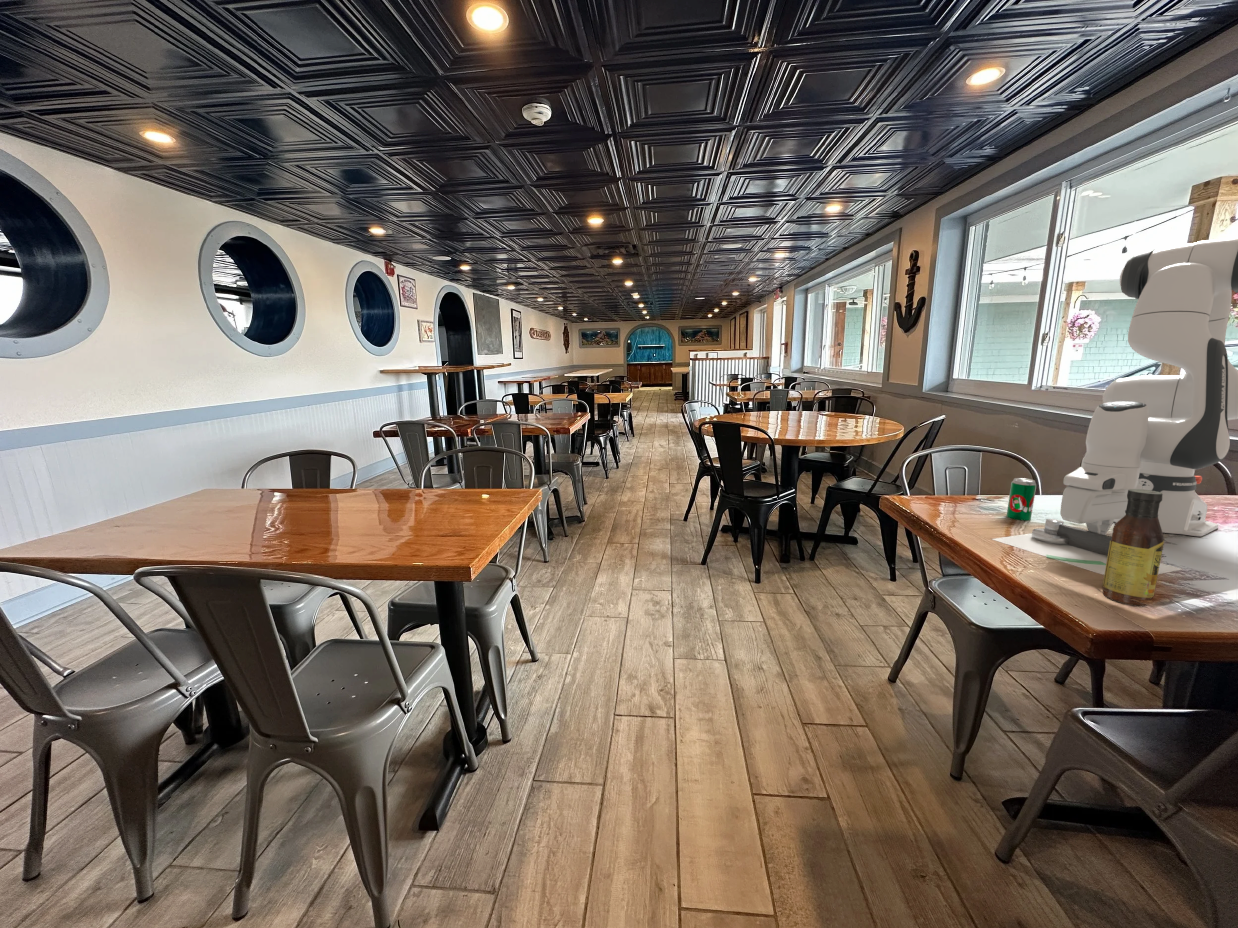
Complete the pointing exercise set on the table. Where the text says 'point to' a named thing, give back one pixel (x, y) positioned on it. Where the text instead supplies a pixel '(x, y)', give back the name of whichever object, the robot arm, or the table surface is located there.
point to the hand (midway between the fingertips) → (1096, 538)
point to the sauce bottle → (1135, 550)
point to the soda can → (1021, 499)
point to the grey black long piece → (1072, 537)
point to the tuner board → (1067, 553)
